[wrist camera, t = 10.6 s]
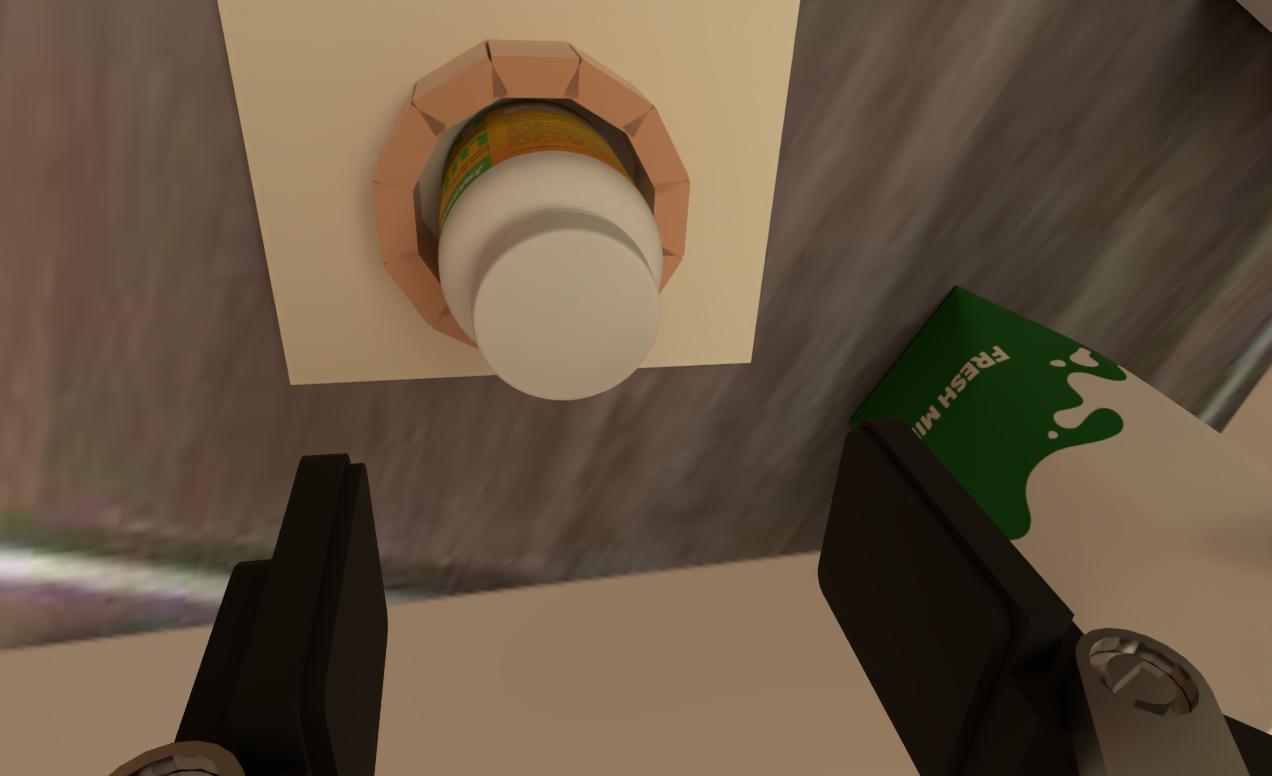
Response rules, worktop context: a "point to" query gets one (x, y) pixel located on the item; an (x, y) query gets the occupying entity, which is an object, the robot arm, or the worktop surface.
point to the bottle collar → (472, 89)
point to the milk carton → (1100, 488)
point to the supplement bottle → (548, 251)
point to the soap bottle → (1259, 11)
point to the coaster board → (376, 93)
